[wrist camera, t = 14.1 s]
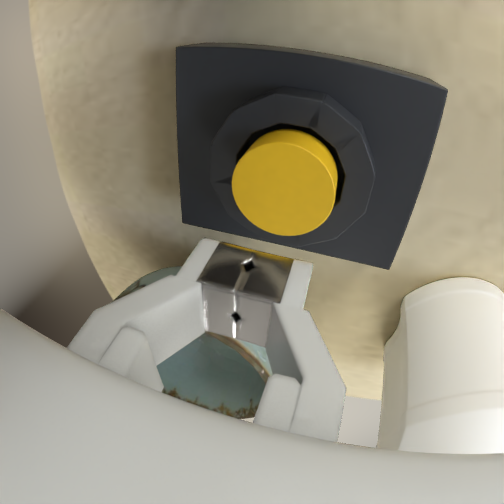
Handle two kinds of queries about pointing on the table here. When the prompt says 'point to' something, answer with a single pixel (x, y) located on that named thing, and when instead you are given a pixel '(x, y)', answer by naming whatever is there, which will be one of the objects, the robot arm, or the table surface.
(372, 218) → the trigger housing
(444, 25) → the table surface
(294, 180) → the cylinder
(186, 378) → the bowl
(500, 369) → the jar
